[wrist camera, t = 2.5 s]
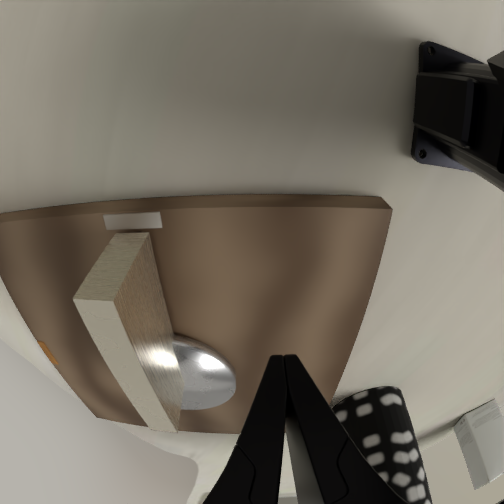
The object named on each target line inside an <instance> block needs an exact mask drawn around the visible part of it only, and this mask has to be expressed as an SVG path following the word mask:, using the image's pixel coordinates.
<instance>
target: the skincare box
mask: <svg viewBox="0 0 504 504" xmlns="http://www.w3.org/2000/svg"><path fill="white" fill-rule="evenodd" d="M454 431H455V433H456V436H457V439H458V441H459V444H460V447H461V450H462V453H463V455H464V458H465V461H466V464H467V467H468V470H469V473H470V477H471V480H472V483H473V486H474V489H475V490H476V489H478V488H480V487H481V486H484V485H486V484H487V483H490V482H491V481H493V480H494V479H496V478H497V477H499V476H500V475H502V474H503V473H504V416H503V414H502V412H501V410H500V408H499V406H498V404H497V402H496V400H495V399H493V400H491V401H490V402H488V403H486V404H484V405H482V406H480V407H478V408H477V409H475V410H473V411H471V412H469V413H466V414H465V415H464V416H463V417H462V418H461V419H460V420H459V421H458V422H457V423H456V425H455V426H454Z"/></svg>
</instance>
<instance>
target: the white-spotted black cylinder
mask: <svg viewBox="0 0 504 504" xmlns="http://www.w3.org/2000/svg"><path fill="white" fill-rule="evenodd" d="M332 410H333V412H334V413H335V415H336V416H337V418H338V419H339V421H340V423H341V424H342V426H343V427H344V429H345V430H346V432H347V433H348V435H349V437H350V438H351V439H352V441H353V442H354V444H355V445H356V447H357V448H358V449H359V451H360V452H361V454H362V455H363V456H364V458H365V459H366V460H367V461H368V463H369V464H370V465H371V466H372V467H373V469H374V470H375V471H376V472H377V473H378V474H379V475H380V476H381V477H382V479H383V480H384V481H385V482H386V483H387V484H388V485H389V486H390V487H391V488H392V489H393V491H394V492H395V493H396V494H397V495H399V496H400V497H401V498H402V499H403V500H405V501H406V502H408V503H409V504H432V500H431V495H430V490H429V486H428V482H427V477H426V473H425V469H424V465H423V461H422V458H421V454H420V450H419V447H418V443H417V440H416V436H415V433H414V429H413V426H412V423H411V419H410V416H409V413H408V410H407V407H406V404H405V401H404V398H403V395H402V392H401V390H400V389H398V388H396V387H379V388H374V389H370V390H366V391H363V392H360V393H358V394H355V395H353V396H351V397H349V398H346V399H345V400H343V401H341V402H340V403H338V404H337V405H336V406H335V407H334V408H333V409H332ZM349 437H348V438H349Z"/></svg>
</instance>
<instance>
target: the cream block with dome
mask: <svg viewBox="0 0 504 504" xmlns="http://www.w3.org/2000/svg"><path fill="white" fill-rule="evenodd" d="M73 301H74V303H75V305H76V307H77V309H78V311H79V313H80V315H81V318H82V320H83V322H84V324H85V326H86V327H87V329H88V331H89V333H90V335H91V337H92V339H93V341H94V343H95V344H96V346H97V348H98V350H99V352H100V353H101V355H102V357H103V359H104V360H105V362H106V364H107V365H108V367H109V369H110V370H111V372H112V374H113V375H114V377H115V379H116V380H117V382H118V383H119V385H120V386H121V388H122V389H123V391H124V393H125V394H126V396H127V397H128V399H129V400H130V401H131V403H132V404H133V406H134V407H135V409H136V410H137V412H138V413H139V414H140V416H141V417H142V418H143V420H144V421H145V423H146V424H147V425H148V427H149V428H150V429H151V430H158V431H166V432H175V433H178V425H179V418H180V411H181V409H184V410H200V409H208V408H212V407H216V406H219V405H221V404H223V403H225V402H226V401H228V400H229V399H230V398H231V397H232V396H233V394H234V393H235V390H236V372H235V370H234V367H233V366H232V364H231V363H230V361H229V360H228V359H227V358H226V357H225V356H223V355H222V354H221V353H220V352H218V351H216V350H215V349H213V348H212V347H210V346H208V345H206V344H204V343H201V342H199V341H196V340H193V339H190V338H187V337H183V336H179V335H174V333H173V329H172V326H171V322H170V318H169V315H168V311H167V307H166V303H165V299H164V296H163V292H162V287H161V283H160V279H159V275H158V271H157V266H156V262H155V257H154V253H153V248H152V243H151V238H150V233H149V232H141V233H116V234H115V235H114V237H113V238H112V239H111V241H110V242H109V244H108V245H107V247H106V248H105V249H104V251H103V252H102V254H101V255H100V257H99V258H98V260H97V261H96V263H95V264H94V266H93V267H92V269H91V270H90V272H89V273H88V275H87V276H86V278H85V280H84V281H83V283H82V284H81V286H80V287H79V289H78V291H77V292H76V294H75V296H74V297H73Z"/></svg>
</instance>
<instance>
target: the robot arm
mask: <svg viewBox="0 0 504 504" xmlns="http://www.w3.org/2000/svg"><path fill="white" fill-rule="evenodd" d="M428 47H429V48H430V49H431V55H430V54H429V53H428V50H427V49H428ZM487 62H488V65H487V64H484V63H482V62H480V61H478V60H475V59H473V58H471V57H469V56H467V55H464V54H462V53H460V52H457V51H455V50H452V49H450V48H447V47H445V46H442V45H439V44H437V43H434V42H430V41H427V42H422V43H421V44H420V47H419V74H418V75H417V79H416V95H415V108H414V118H413V122H414V124H415V126H414V134H413V142H412V149H411V155H412V157H413V159H414V160H416V161H417V162H419V163H422V164H429V165H436V166H442V167H448V168H454V169H459V170H465V171H470V172H474V173H476V174H478V175H479V176H481V177H482V178H484V179H485V180H487V181H489V182H490V183H492V184H493V185H495V186H496V187H498V188H499V189H501V190H502V191H503V192H504V51H502V52H501V53H499V54H497V55H495V56H493V57H491V58H490V59H488V60H487ZM420 150H423V154H422V155H421V156H420V157H419V152H420ZM285 429H286V435H287V441H288V446H289V452H290V458H291V464H292V470H293V476H294V482H295V488H296V493H297V499H298V504H409V503H408V502H406V501H405V500H403V499H402V498H401V497H400V496H399V495H397V494H396V493H395V492H394V491H393V489H392V488H391V487H390V486H389V485H388V484H387V483H386V482H385V481H384V480H383V479H382V477H381V476H380V475H379V474H378V473H377V472H376V471H375V470H374V469H373V467H372V466H371V465H370V464H369V463H368V461H367V460H366V459H365V458H364V456H363V455H362V454H361V452H360V451H359V449H358V448H357V447H356V445H355V444H354V442H353V441H352V439H351V438H350V437H349V435H348V433H347V432H346V430H345V429H344V427H343V426H342V424H341V423H340V421H339V419H338V418H337V416H336V415H335V413H334V412H333V410H332V409H331V407H330V406H329V404H328V402H327V401H326V399H325V398H324V396H323V395H322V393H321V392H320V390H319V389H318V387H317V385H316V384H315V382H314V381H313V379H312V378H311V376H310V374H309V373H308V371H307V370H306V368H305V367H304V365H303V363H302V362H301V360H300V359H299V357H298V356H297V355H296V354H285V355H284V356H283V355H271V356H270V357H269V360H268V363H267V366H266V368H265V371H264V374H263V376H262V379H261V382H260V384H259V387H258V390H257V392H256V395H255V397H254V400H253V403H252V405H251V408H250V410H249V413H248V415H247V418H246V420H245V423H244V425H243V428H242V430H241V433H240V435H239V438H238V440H237V442H236V445H235V447H234V449H233V452H232V454H231V456H230V458H229V461H228V463H227V465H226V467H225V469H224V471H223V472H222V474H221V476H220V477H219V479H218V481H217V482H216V484H215V486H214V487H213V489H212V490H211V492H210V493H209V495H208V496H207V498H206V499H205V501H204V502H203V504H278V496H279V487H280V477H281V467H282V456H283V445H284V433H285ZM348 437H349V438H348ZM496 504H504V499H503V500H501V501H500V502H498V503H496Z"/></svg>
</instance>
